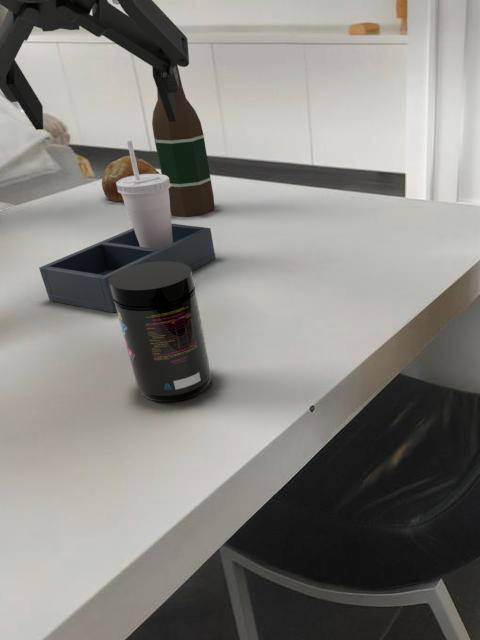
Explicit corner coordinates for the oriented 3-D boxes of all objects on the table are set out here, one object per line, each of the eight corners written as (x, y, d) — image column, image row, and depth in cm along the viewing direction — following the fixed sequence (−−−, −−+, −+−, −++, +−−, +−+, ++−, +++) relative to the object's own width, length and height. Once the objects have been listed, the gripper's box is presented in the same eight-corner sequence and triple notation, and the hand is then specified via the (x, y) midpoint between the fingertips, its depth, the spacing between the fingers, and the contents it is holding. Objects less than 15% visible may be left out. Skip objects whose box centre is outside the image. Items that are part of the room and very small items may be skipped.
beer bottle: (182, 220, 106) (147, 37, 92) (159, 211, 111) (122, 35, 97) (225, 209, 110) (198, 32, 96) (200, 201, 115) (171, 31, 101)
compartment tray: (49, 300, 81) (38, 267, 79) (156, 250, 95) (150, 220, 93) (114, 312, 77) (104, 278, 75) (215, 258, 91) (210, 227, 89)
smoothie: (131, 255, 90) (103, 139, 82) (179, 248, 92) (156, 133, 84) (138, 270, 85) (109, 148, 77) (189, 262, 87) (166, 141, 79)
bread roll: (151, 206, 127) (130, 163, 125) (180, 187, 120) (158, 140, 118) (107, 220, 121) (84, 174, 118) (135, 200, 114) (111, 151, 111)
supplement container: (187, 362, 66) (164, 255, 60) (227, 384, 62) (207, 272, 56) (124, 388, 63) (93, 277, 57) (163, 413, 59) (134, 297, 53)
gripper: (-166, -30, 49) (-17, 154, 70) (185, -46, 50) (228, 139, 71) (-165, -120, 50) (-18, 88, 71) (179, -133, 51) (223, 74, 72)
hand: (106, 114), depth 71 cm, fingers open, 13 cm apart
